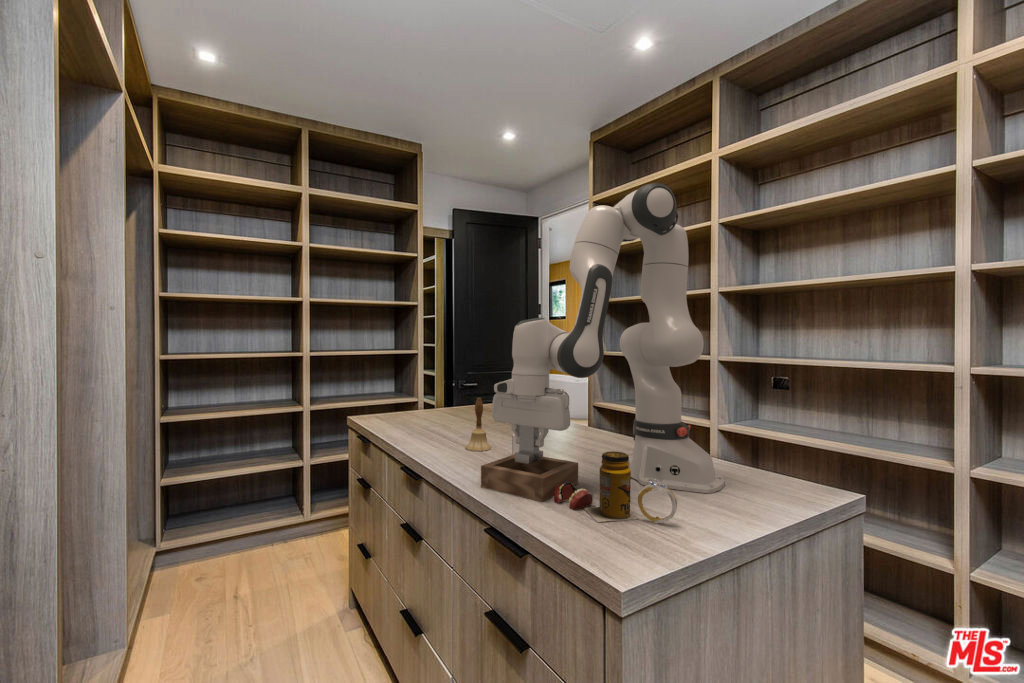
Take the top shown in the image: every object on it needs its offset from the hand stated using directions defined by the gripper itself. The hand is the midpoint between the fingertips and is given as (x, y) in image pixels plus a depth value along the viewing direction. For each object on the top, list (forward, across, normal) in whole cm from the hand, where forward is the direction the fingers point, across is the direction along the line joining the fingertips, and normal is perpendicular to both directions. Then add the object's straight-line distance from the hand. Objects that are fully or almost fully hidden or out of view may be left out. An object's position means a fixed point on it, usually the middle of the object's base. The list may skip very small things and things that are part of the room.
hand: (529, 445), depth 113 cm
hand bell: (+10, +34, -22) cm, 42 cm away
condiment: (+10, -23, +6) cm, 26 cm away
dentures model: (+10, -14, +5) cm, 18 cm away
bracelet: (+10, -32, +5) cm, 34 cm away
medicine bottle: (+10, +16, -22) cm, 29 cm away
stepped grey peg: (+4, 0, 0) cm, 4 cm away
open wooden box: (+10, 0, 0) cm, 10 cm away
